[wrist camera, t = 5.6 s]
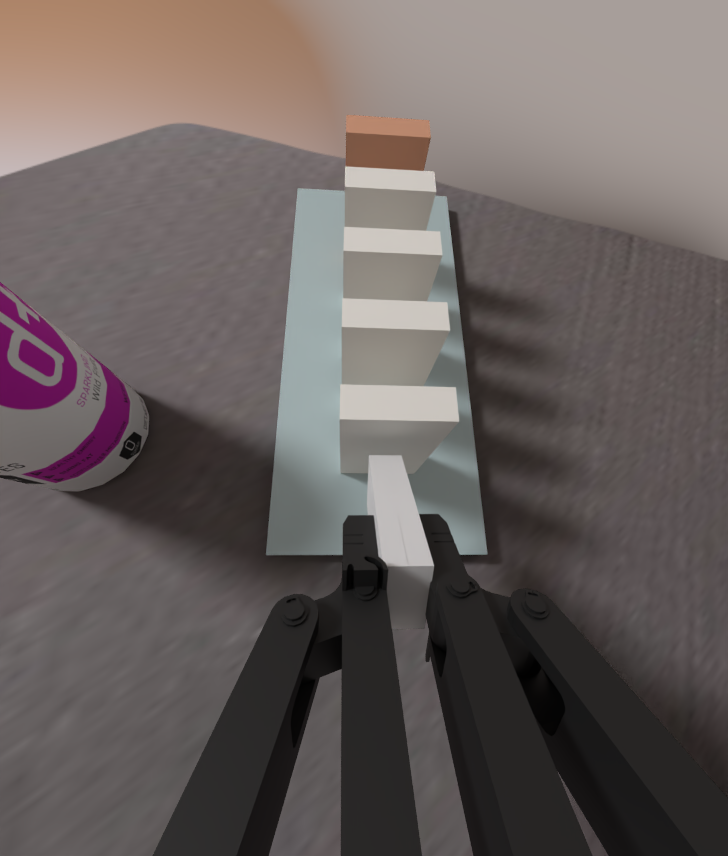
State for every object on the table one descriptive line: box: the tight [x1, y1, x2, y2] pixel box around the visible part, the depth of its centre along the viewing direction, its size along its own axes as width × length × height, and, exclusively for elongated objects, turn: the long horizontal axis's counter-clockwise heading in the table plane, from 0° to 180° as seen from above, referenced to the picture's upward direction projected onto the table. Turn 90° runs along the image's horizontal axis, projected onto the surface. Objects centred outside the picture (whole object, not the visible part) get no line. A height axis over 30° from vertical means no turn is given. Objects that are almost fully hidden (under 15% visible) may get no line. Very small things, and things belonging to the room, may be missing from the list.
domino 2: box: [345, 166, 436, 231], centre depth 24 cm, size 2×5×10 cm, turn 90°
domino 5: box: [340, 384, 459, 474], centre depth 20 cm, size 2×5×10 cm, turn 90°
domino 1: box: [346, 115, 431, 171], centre depth 26 cm, size 2×5×10 cm, turn 90°
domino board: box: [266, 188, 487, 555], centre depth 28 cm, size 14×32×1 cm, turn 0°
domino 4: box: [342, 298, 450, 386], centre depth 21 cm, size 2×5×10 cm, turn 90°
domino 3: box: [343, 227, 442, 301], centre depth 23 cm, size 2×5×10 cm, turn 90°
